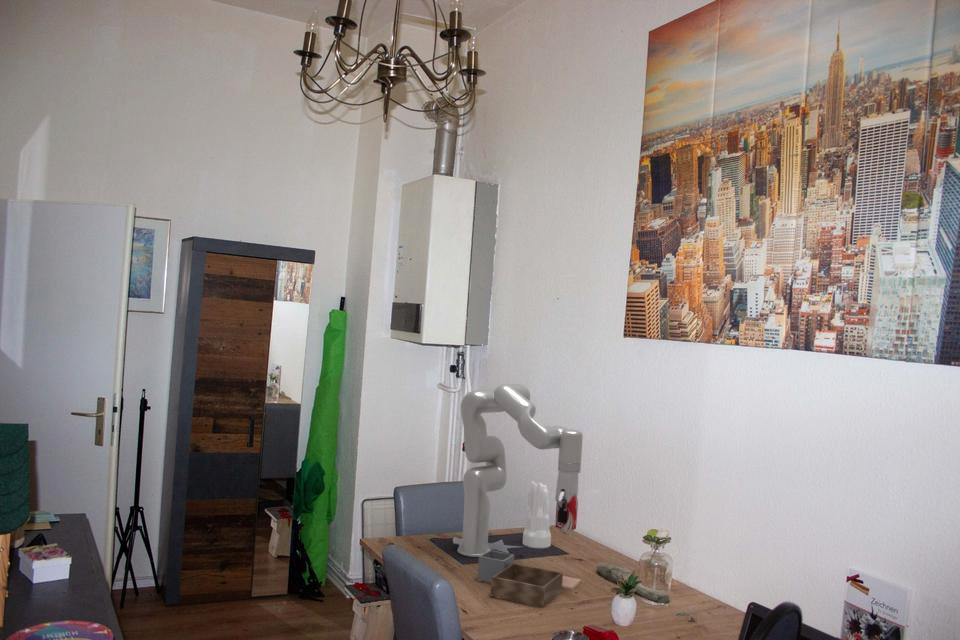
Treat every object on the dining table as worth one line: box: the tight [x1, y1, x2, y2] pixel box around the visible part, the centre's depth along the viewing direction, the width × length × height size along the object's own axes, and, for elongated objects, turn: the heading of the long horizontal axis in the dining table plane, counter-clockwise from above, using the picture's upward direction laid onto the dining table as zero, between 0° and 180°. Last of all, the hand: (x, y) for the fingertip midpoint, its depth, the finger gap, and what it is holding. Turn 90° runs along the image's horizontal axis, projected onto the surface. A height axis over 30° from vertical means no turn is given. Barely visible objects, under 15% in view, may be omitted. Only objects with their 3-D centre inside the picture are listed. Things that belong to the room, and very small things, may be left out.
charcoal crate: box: [477, 549, 515, 584], centre depth 267 cm, size 9×9×8 cm
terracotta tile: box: [562, 575, 582, 591], centre depth 267 cm, size 10×10×1 cm
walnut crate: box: [490, 562, 564, 608], centre depth 254 cm, size 17×17×6 cm
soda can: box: [555, 495, 579, 533], centre depth 268 cm, size 7×7×12 cm
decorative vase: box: [522, 480, 552, 549], centre depth 313 cm, size 11×11×25 cm
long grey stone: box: [596, 562, 670, 604], centre depth 269 cm, size 35×5×10 cm
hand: (565, 519), depth 268 cm, fingers closed on soda can, 7 cm apart
